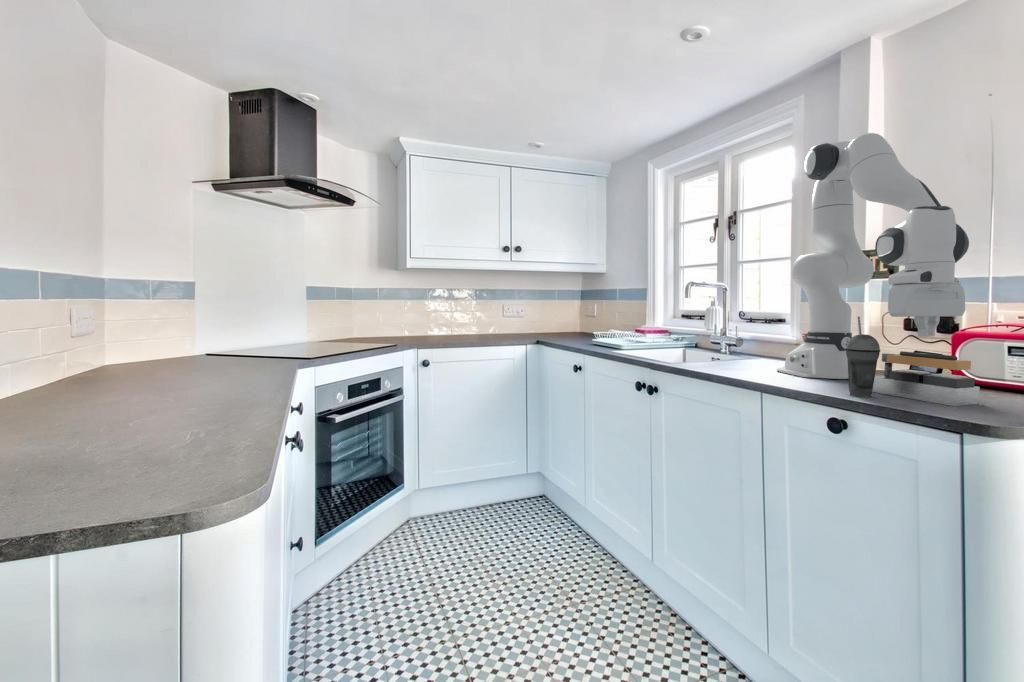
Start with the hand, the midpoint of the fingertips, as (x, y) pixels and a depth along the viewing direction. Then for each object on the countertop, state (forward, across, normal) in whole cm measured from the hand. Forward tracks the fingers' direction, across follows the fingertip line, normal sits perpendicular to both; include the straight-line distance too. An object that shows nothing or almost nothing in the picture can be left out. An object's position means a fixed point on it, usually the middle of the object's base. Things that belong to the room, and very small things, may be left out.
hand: (926, 336), depth 115 cm
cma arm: (+7, -7, -6) cm, 12 cm away
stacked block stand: (+15, -7, -6) cm, 18 cm away
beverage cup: (+16, +5, -12) cm, 20 cm away
